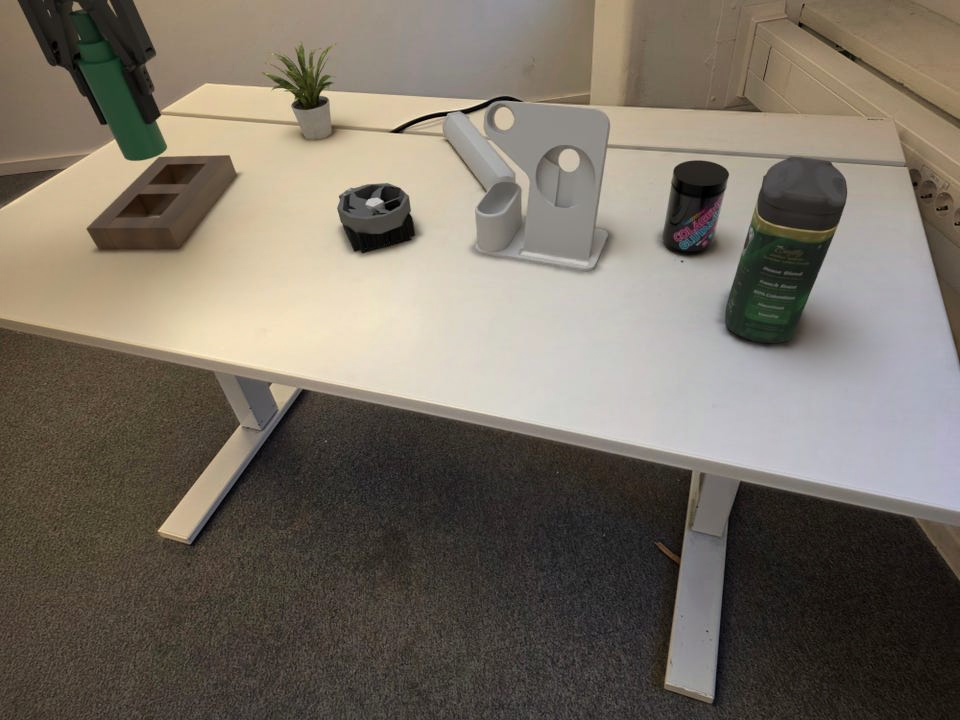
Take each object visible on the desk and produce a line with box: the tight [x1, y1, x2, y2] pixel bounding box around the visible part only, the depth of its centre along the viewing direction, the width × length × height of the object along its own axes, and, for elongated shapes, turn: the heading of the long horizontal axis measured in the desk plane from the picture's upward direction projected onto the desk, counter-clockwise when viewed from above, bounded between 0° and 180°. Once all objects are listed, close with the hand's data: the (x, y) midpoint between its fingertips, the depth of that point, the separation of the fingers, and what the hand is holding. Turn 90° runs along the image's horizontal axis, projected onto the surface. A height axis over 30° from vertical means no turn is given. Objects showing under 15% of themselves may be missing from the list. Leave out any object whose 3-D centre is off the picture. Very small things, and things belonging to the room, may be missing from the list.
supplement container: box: [661, 159, 730, 256], centre depth 80 cm, size 7×7×10 cm
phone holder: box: [474, 100, 611, 272], centre depth 79 cm, size 17×10×18 cm, turn 68°
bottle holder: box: [85, 154, 238, 251], centre depth 98 cm, size 13×23×4 cm, turn 175°
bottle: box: [69, 8, 168, 162], centre depth 76 cm, size 6×6×17 cm
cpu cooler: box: [336, 182, 416, 254], centre depth 88 cm, size 10×6×10 cm
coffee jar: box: [724, 156, 848, 344], centre depth 65 cm, size 10×8×19 cm
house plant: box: [260, 41, 339, 141], centre depth 112 cm, size 14×14×16 cm
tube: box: [441, 111, 517, 192], centre depth 101 cm, size 5×5×25 cm
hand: (131, 119), depth 79 cm, fingers closed on bottle, 6 cm apart
